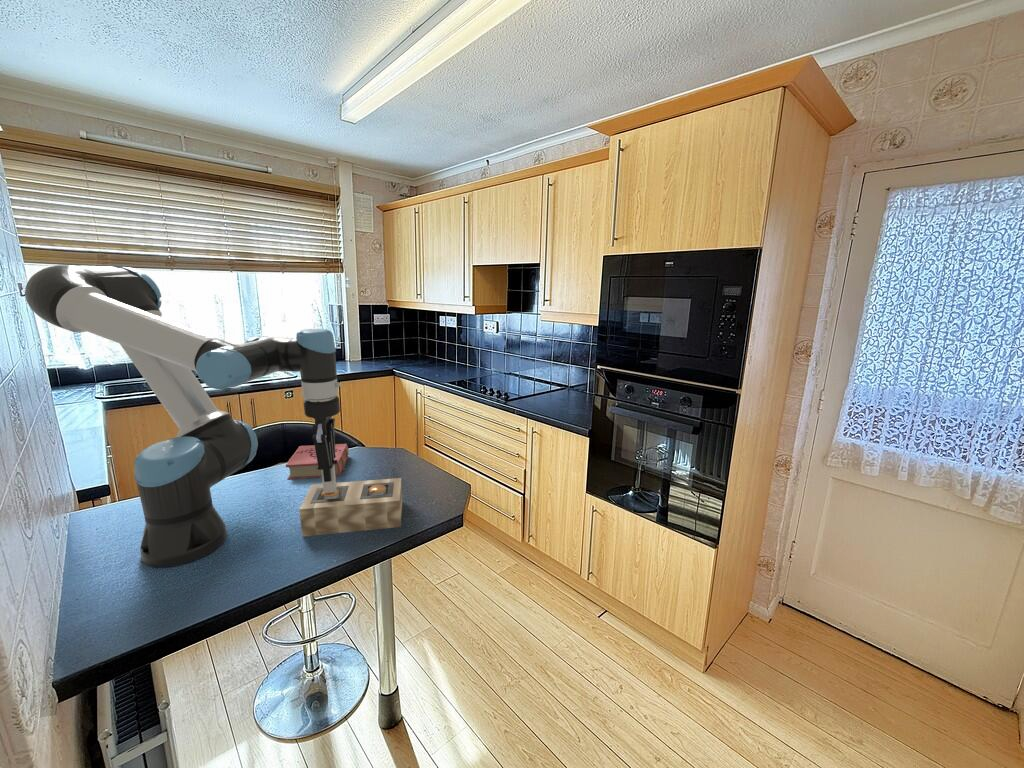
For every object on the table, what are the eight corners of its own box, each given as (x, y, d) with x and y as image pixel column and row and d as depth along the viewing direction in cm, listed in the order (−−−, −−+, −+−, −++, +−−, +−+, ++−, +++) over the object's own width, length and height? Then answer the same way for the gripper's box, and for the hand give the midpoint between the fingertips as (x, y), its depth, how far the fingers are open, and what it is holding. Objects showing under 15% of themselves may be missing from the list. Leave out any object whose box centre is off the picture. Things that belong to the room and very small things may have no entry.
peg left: (321, 522, 103) (319, 496, 102) (325, 513, 107) (322, 488, 106) (339, 520, 104) (337, 495, 103) (342, 512, 108) (340, 487, 106)
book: (342, 477, 129) (340, 461, 128) (287, 480, 126) (285, 465, 125) (350, 457, 143) (349, 443, 142) (301, 460, 140) (299, 446, 139)
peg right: (369, 517, 106) (368, 492, 104) (371, 509, 110) (369, 485, 108) (386, 516, 107) (385, 491, 105) (387, 507, 110) (386, 483, 109)
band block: (302, 536, 99) (299, 508, 97) (314, 509, 111) (311, 484, 109) (400, 526, 104) (399, 500, 102) (402, 501, 115) (401, 477, 113)
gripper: (333, 405, 93) (342, 503, 99) (343, 389, 105) (350, 477, 111) (295, 406, 91) (306, 506, 97) (310, 390, 104) (319, 480, 109)
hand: (330, 491), depth 104 cm, fingers closed
